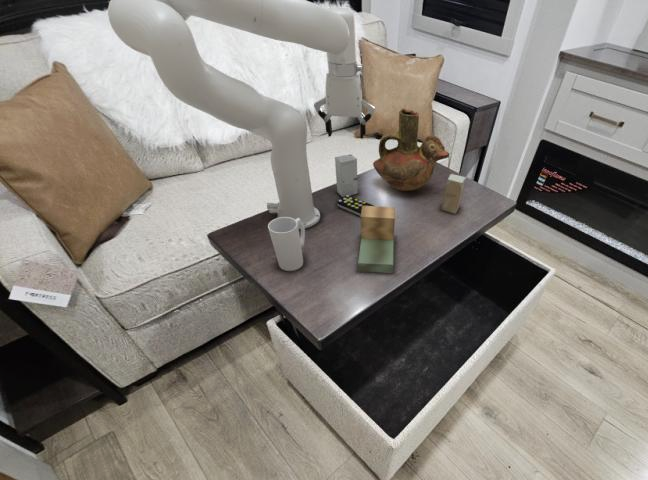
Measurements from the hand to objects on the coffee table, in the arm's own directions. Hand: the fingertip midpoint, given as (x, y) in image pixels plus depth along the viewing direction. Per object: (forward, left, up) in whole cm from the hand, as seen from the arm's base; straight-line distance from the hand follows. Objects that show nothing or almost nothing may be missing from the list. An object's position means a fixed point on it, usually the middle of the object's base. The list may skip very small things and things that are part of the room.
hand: (346, 135), depth 102 cm
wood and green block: (+11, -33, -19) cm, 39 cm away
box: (+34, -7, -19) cm, 40 cm away
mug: (-11, -37, -19) cm, 43 cm away
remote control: (+3, -10, -19) cm, 22 cm away
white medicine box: (-1, 0, -19) cm, 19 cm away
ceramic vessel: (+20, +6, -19) cm, 28 cm away
